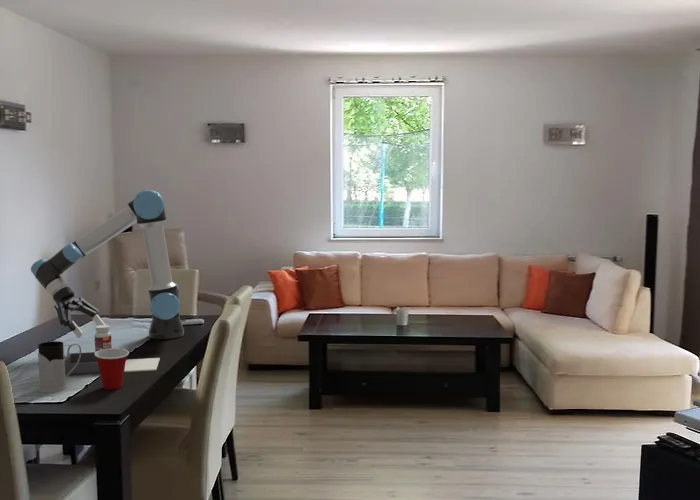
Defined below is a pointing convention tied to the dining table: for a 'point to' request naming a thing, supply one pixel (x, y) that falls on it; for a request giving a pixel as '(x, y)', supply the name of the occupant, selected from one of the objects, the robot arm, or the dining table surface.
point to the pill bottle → (102, 338)
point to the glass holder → (53, 366)
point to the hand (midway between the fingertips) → (92, 332)
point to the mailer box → (90, 366)
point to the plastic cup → (111, 366)
